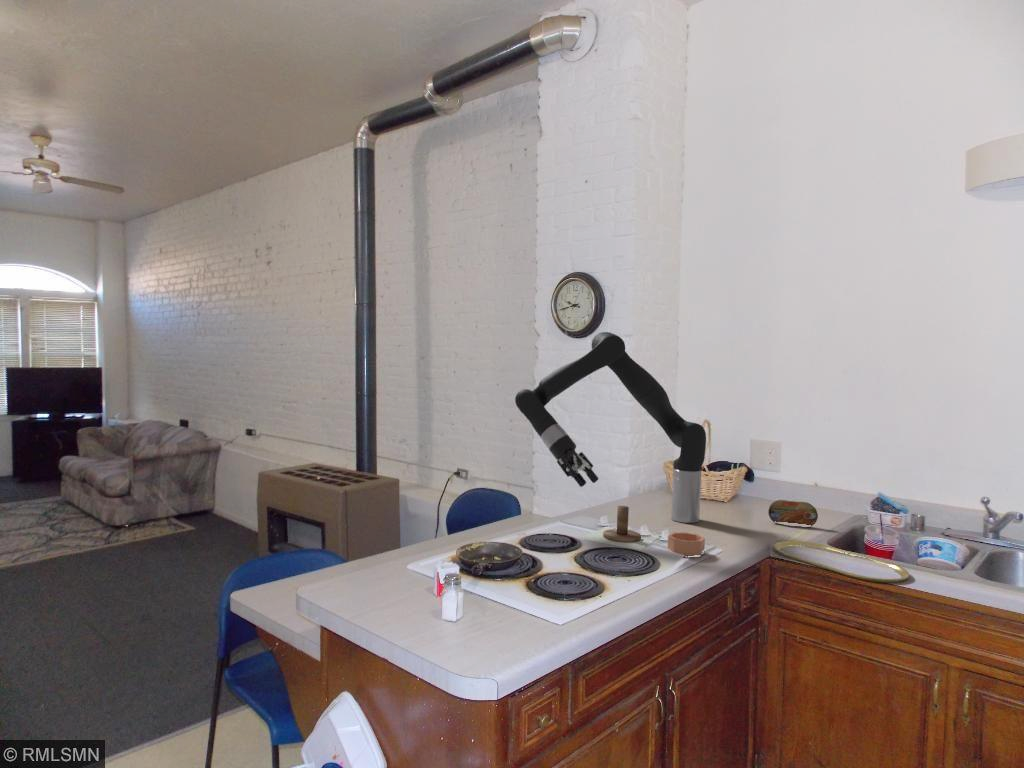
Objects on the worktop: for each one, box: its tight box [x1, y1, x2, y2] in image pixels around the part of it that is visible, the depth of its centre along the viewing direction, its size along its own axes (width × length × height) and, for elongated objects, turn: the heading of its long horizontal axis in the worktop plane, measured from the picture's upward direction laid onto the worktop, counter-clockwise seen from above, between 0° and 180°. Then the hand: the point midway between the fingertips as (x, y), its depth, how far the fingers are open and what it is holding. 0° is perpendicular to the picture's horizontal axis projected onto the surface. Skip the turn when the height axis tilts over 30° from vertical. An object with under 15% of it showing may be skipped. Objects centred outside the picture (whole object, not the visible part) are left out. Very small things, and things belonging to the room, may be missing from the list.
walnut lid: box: [603, 505, 641, 543], centre depth 187 cm, size 11×11×9 cm
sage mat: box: [580, 526, 660, 551], centre depth 187 cm, size 18×18×1 cm
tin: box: [767, 499, 819, 527], centre depth 213 cm, size 15×3×8 cm, turn 68°
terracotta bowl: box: [667, 531, 706, 557], centre depth 177 cm, size 9×9×4 cm
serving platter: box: [773, 540, 910, 584], centre depth 173 cm, size 19×35×2 cm, turn 31°
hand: (590, 483), depth 193 cm, fingers open, 8 cm apart
